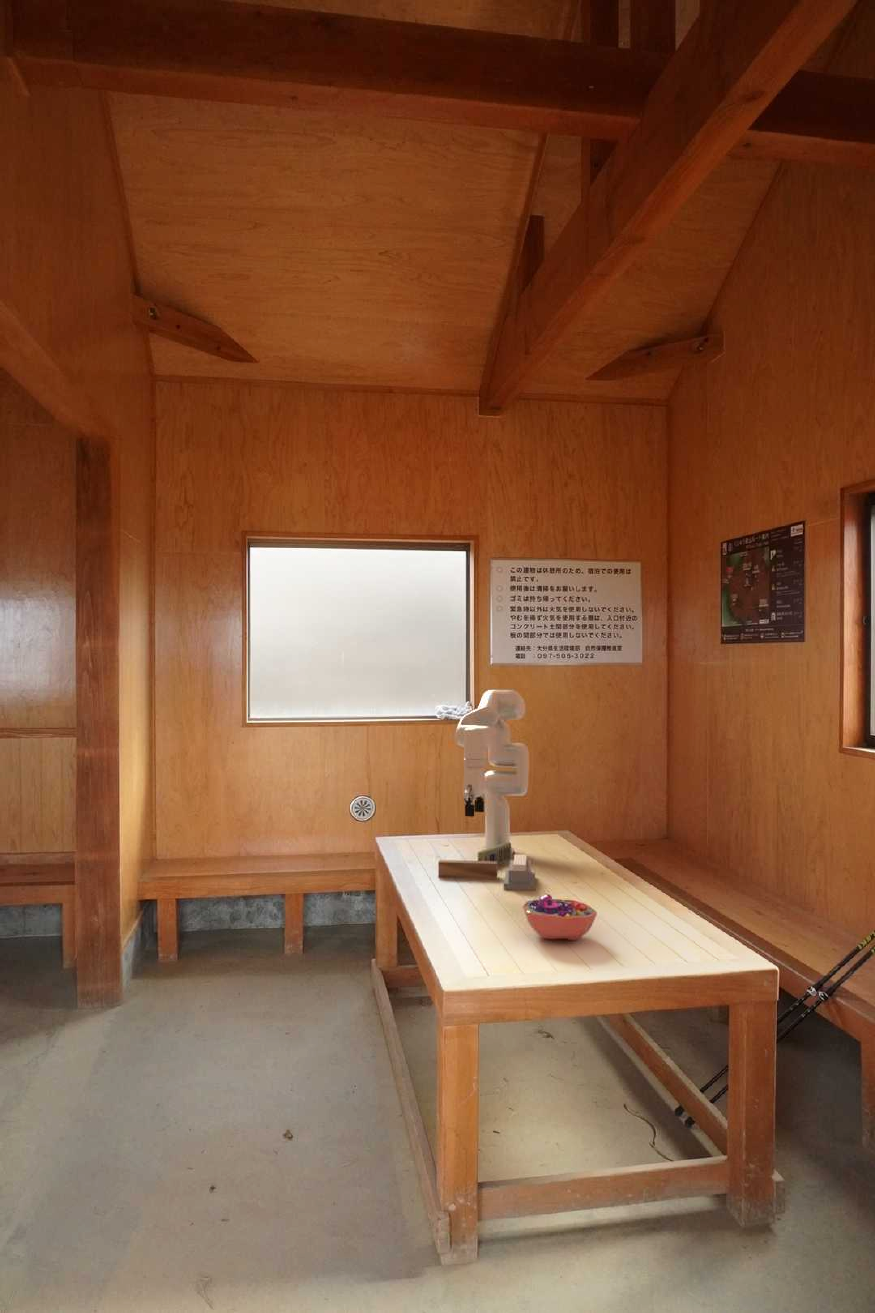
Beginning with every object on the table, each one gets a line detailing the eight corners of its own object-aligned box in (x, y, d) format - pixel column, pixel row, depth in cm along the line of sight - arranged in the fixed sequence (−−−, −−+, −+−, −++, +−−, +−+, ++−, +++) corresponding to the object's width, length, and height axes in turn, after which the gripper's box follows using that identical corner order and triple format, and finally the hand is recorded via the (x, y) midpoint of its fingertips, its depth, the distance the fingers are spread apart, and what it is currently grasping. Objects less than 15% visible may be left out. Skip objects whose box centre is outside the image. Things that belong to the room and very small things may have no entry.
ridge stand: (506, 876, 284) (506, 853, 284) (535, 877, 283) (535, 854, 283) (503, 889, 269) (503, 865, 269) (534, 890, 267) (534, 866, 267)
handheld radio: (513, 861, 308) (475, 874, 288) (505, 860, 310) (467, 873, 290) (512, 842, 308) (474, 855, 288) (505, 842, 310) (467, 854, 290)
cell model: (584, 954, 210) (584, 910, 210) (512, 941, 219) (512, 899, 219) (605, 935, 224) (605, 893, 224) (536, 923, 234) (536, 883, 234)
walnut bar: (439, 875, 287) (439, 859, 287) (497, 877, 285) (497, 861, 285) (438, 878, 283) (438, 862, 283) (496, 880, 281) (496, 863, 281)
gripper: (473, 761, 291) (472, 809, 291) (455, 765, 275) (455, 817, 275) (493, 762, 288) (493, 811, 288) (476, 766, 272) (476, 819, 272)
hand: (474, 814), depth 281 cm, fingers open, 9 cm apart
